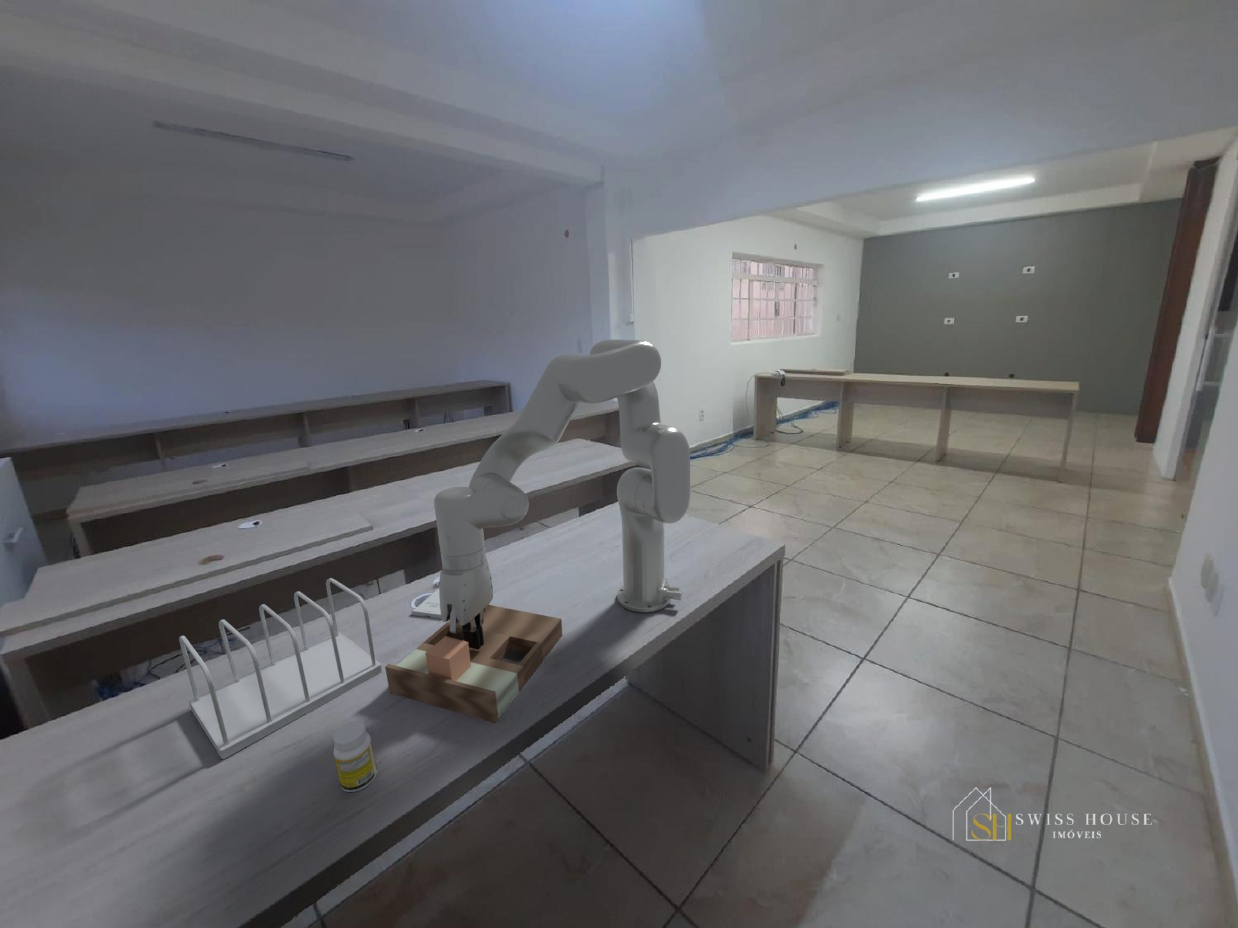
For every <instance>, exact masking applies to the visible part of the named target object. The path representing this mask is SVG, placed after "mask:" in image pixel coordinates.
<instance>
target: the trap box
mask: <svg viewBox="0 0 1238 928" xmlns="http://www.w3.org/2000/svg"><path fill="white" fill-rule="evenodd" d="M562 623H563V622H562V618H559V617H554V616H549V615H545V614H538V613H535V612H533V613H532V612H527V611H523V610H518V609H512V608H507V607H503V606H496V605H492V604H489V605H488V606H487V608H486V609H485V612H484V623H483V625H481V626H482V628H483V637H484V645H483V646H481V648H480V649H473V648H469V653H470V661H471V667H470V668H469V669H468V670H467V671H466V672H465V673H464V674H463V675H462V676H461V677H460V678H459V679H458V680H457V681H453V680H449V679H445V678H442V677H438V676H434V675H430V674H429V673H428V667H427V660H426V652H427V651H428V650H430V649H431V648H432V647H433V646H434V645H436V644H437V643H438V642H439V641H440V640H442V639H443V638H444V637H445V636H446V637H450V638H454V639H458V640H462V641H464V635H463V630H462V631H461V632H459V633H457V634H455V633H451V632H450V620H449V621H447V622H445V624H443V625H442V626H440V628H439V629H437V630H436V632H434V633H433V634H432V635H431V636H429V637H428V638H427V639H425V641H423V642H422V643H421V644H420V645H418V646H417V648H414V650H413V651H411V652H410V653H409V654H408V655H406V657H405V658H404V659H402V660H401V661H400V662H399V663H397V664H396V665H394V664H391V663H388V664H386V665H385V666H384V668H385V669H384V670H385V673H386V674H385V675H386V679H387V680H386V681H387V685H388V690H389V693H390V694H392V695H396V696H400V697H403V698H406V699H409V700H410V699H411V700H413V701H418V702H420V703H424V704H427V705H431V706H434V707H439V708H440V709H446V710H449V711H452V712H456V713H459V714H463V715H467V716H470V717H474V718H477V719H480V720H484V721H487V722H488V721H489V722H491V723H495V724H497V722H498V721H499V719H500V718H501V717H502V715H503V714H504V713H505V712H506V710H507V708H509V706H510V705H511V704H512V702H513V701H514V699H515V698H516V697H517V696H518V694H519V693H520V692H521V690H522V689H523V688H524V686H525V685H526V684H527V682H528V681H529V680H530V678H531V677H532V676H533V675H534V674H535V672H536V671H537V670H538V668H539V667H540V665H542V663H543V662H544V661H545V659H546V658H547V657H548V655H549V654H550V653H551V651H552V650H553V648H554V647H555V646H556V644H557V643H558V642H559V641H560V640H561V638H562V637H563V625H562Z"/></svg>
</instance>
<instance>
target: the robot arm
mask: <svg viewBox="0 0 1238 928" xmlns="http://www.w3.org/2000/svg"><path fill="white" fill-rule="evenodd" d="M661 368H662V357H661V355H660V352H659V350H658V349H657V347H656V346H654V345H653V344H652V343H651V342H648V341H645V340H638V339H603V340H601V341H599V342H597V343H595V344H594V345H593V346H592V347H591V348H590V351H589V354H575V353H574V354H572V353H569V354H567V353H565V354H559V355H557V356H555V357H554V358H552V359H551V360H550V361H549V363H548V364H547V366H546V367H545V369H544V371H543V372H542V375H541V376H540V378H539V380H538V382H537V383H536V385H535V387H534V390H533V391H532V393H530V394H531V395H530V397H529V398H528V400H527V402H526V404H525V405H524V407H523V409H522V411H521V412H520V414H519V416H518V418H517V419H516V420H515V422H514V423H513V424H512V425H510V426H509V427H508V428H507V429H506V430H505V431H504V432H503V433H502V434H501V436H499V437H498V438H497V439H496V440H495V441H494V442H493V443H492V444H491V445H490V447H489V448H488V449H487V451H486V452H485V453H484V455H483V456H482V458H481V460H480V462H479V464H478V465H477V467H476V469H475V471H474V472H473V475H472V476H471V479H470V481H469V483H468V486H454V487H449V488H445V489H443V490H440V491H439V492H438V493H437V494H436V495H435V496H434V500H433V504H434V506H433V507H434V514H435V519H436V528H437V535H438V544H439V549H440V557H441V559H440V560H441V564H442V565H441V566H442V570H441V571H440V573H439V574H440V575H439V585H438V587H439V598H440V611H441V618H442V619H441V621H442V622H443V623H447V622H448V621H449V620H450V632H451V633H455V634H457V633H459V632H461V631H462V630H463V635H464V641H466V642H468V645H469V648H473V649H480V648H481V646H483V645H484V637H483V628H482V626H481V625H483V623H484V612H485V609H486V608H487V606H488V605H491V602H492V601H493V598H494V586H493V580H492V574H491V569H490V565H489V561H488V558H487V555H486V545H485V536H484V533H485V532H484V529H486V528H499V527H507V526H512V525H515V524H516V523H519V522H520V521H522V520H523V519H524V518H525V516H526V515H527V513H528V511H529V508H530V507H529V506H530V504H529V499H528V496H527V494H526V493H525V491H524V490H523V489H521V487H519V486H517V485H516V484H515V483H514V484H513V483H512V482H511V481H512V479H513V477H514V476H515V473H516V472H517V471H518V469H519V468H520V466H522V464H523V463H524V462H525V461H526V460H527V459H529V458H530V457H531V456H533V455H535V454H537V453H540V452H543V451H545V450H547V449H550V448H552V447H554V446H555V445H557V444H558V442H560V440H561V438H562V436H563V434H564V433H565V430H566V428H567V427H568V425H569V424H570V421H571V420H572V417H573V416H574V414H575V412H576V410H577V408H578V406H579V404H585V405H595V404H597V405H598V404H602V403H604V402H608V401H610V400H613V399H617V404H618V412H619V413H618V414H619V430H620V432H619V433H620V434H619V435H620V447H621V449H620V450H621V452H622V455H623V457H624V458H625V459H626V460H627V461H628V462H630V463H633V464H635V465H638V466H640V467H632V468H630V469H628V470H626V471H624V472H623V474H622V475H620V478H619V480H618V482H617V486H616V496H617V497H616V498H617V501H618V507H619V511H620V518H621V530H622V531H621V532H622V533H621V534H622V537H621V538H622V570H623V571H622V575H623V577H622V578H623V583H622V584H623V586H621V587H620V588H619V589H618V590H617V593H616V597H617V598H616V599H617V602H618V604H619V605H620V606H621V607H623V608H624V609H626V610H628V611H632V612H636V613H654V612H656V611H657V612H658V611H660V610H662V609H664V608H666V607H667V606H668V605H669V604H670V602H671V599H672V600H676V601H681V602H682V600H683V592H682V591H680V586H674V585H673V586H672V585H670V584H668V583H669V582H668V579H669V578H666V577H665V524H674V523H677V522H679V521H681V520H682V519H683V518H684V517H685V515H686V513H687V511H688V509H689V505H690V500H691V452H690V451H691V450H690V446H689V445H690V444H689V442H688V440H687V437H686V436H685V434H683V432H682V431H681V430H679V429H678V428H676V427H673V426H670V425H666V424H663V423H662V421H661V415H660V414H661V412H660V401H659V394H658V390H657V387H656V384H655V383H654V381H655V380H656V379H657V377H658V376H659V373H660V371H661Z"/></svg>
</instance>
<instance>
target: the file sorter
mask: <svg viewBox="0 0 1238 928" xmlns="http://www.w3.org/2000/svg"><path fill="white" fill-rule="evenodd" d="M331 583H332V584H333V585H335V586H336V587H338V588H339V589H341V590H342V591H344V592H345V593H347V594H348V595H350V596H351V597H353V598H355V599H357V600H358V602H359V603H360V606H361V607H362V610H363V616H364V622H365V629H366V635H367V641H368V642H367V643H368V648H369V653H367V652H366V650H364V649H363V648H362V647H360V646H359V645H357V644H356V643H355V642H353V641H352V640H351V639H350V638H349V637H347V636H346V635H344V633H342V632H340V631H339V629H338V623H337V619H336V612H335V608H334V607H335V606H334V603H333V596H332V591H331ZM325 585H326V592H327V599H328V605H329V608H330V615H329V613H328V612H327V611H326V609H324V608H323V607H321V606H320V605H319V604H317V603H316V602H315V601H313V600H312V599H310V598H309V597H307V595H305V594H304V593H303V592H301V591H300V590H299V591H295V592H294V594H293V600H294V605H295V610H296V615H297V620H298V624H299V629H300V634H301V639H302V644H303V647H304V648H301V649H300V647H299V643H298V639H297V635H296V633H295V631H294V630H293V628H292V626H291V625H290V623H288V622H287V621H285V620H284V618H282V617H281V616H280V615H278V614H277V613H276V612H275V611H274V610H273V609H271V608H270V607H269V606H267V605H266V604H265V603H264V604H260V606H259V609H258V610H259V611H258V612H259V617H260V620H261V625H262V629H263V634H264V638H265V642H266V647H267V652H268V655H269V659H270V663H269V664H266V665H264V666H261V667H260V662H259V659H258V657H257V653H256V651H255V648H254V646H253V645H252V644H251V642H250V641H249V640H248V639H247V638H246V636H245V637H244V635H243V634H241V633H240V632H239V631H238V630H237V629H236V628H234V626H232V625H231V624H230V623H229V622H228V621H227V620H226V619H221V620H219V622H218V628H219V632H220V636H221V639H222V643H223V645H224V649H225V652H226V656H227V659H228V663H229V666H230V669H231V673H232V676H233V679H234V680H231V681H229V682H227V683H225V684H222V685H220V686H217V688H215V685H214V681H213V679H212V675H211V673H210V671H209V669H208V666H207V665H206V663H205V662H204V660H203V658H201V656H200V654H198V652H197V650H195V648H194V647H193V645H192V644H191V643H190V641H189V640H188V638H187V637H186V636H185V635H181V636H179V638H178V639H179V640H178V641H179V645H180V650H181V653H182V657H183V661H184V664H185V667H186V672H187V676H188V678H189V683H190V685H191V690H192V693H193V696H194V697H193V698H192V699H190V700H189V701H188V703H189V707H190V710H191V712H192V713H193V715H194V717H195V719H196V720H197V721H198V723H199V724H200V726H201V728H202V729H203V731H204V733H205V735H206V736H207V737H208V739H209V741H210V742H211V744H212V745H213V748H214V749H215V751H216V752H217V754H218V756H219V757H220V759H222V760H225V759H227V758H229V757H230V756H232V755H234V754H236V753H237V752H240V751H242V750H243V749H245V748H247V747H249V746H250V745H252V744H254V743H256V742H257V741H259V740H262V739H263V738H265V737H266V736H268V735H270V734H272V733H274V732H276V731H277V730H279V729H281V728H284V727H285V726H287V725H288V724H290V723H292V722H294V721H296V720H297V719H300V718H301V717H303V716H305V715H306V714H309V713H310V712H312V711H314V710H316V709H317V708H320V707H321V706H323V705H325V704H326V703H329V702H331V700H333V699H335V698H338V697H339V696H341V695H343V694H344V693H346V692H348V691H350V690H352V689H354V688H355V687H357V686H359V685H360V684H363V683H364V682H367V680H370V679H372V678H373V677H375V676H377V675H379V674H380V673H382V672H383V666H382V663H381V662H379V661H378V660H377V659H376V655H375V650H374V649H375V648H374V642H373V638H372V635H373V634H372V631H371V624H370V617H369V610H368V607H367V605H366V602H365V600H364V599H363V597H362V596H360V595H359V594H358V593H356V592H355V591H353V590H352V589H351V588H348V587H347V586H346V585H344V584H343V583H340V581H338V580H336V579H334V578H332V577H330V578H328V579H326V581H325ZM299 597H300V598H301V599H302V600H303V601H305V602H307V604H309V605H310V606H312V607H313V608H314V609H315V610H317V611H318V612H319V613H321V614H322V615H323V617H324V618H325V620H326V622H327V624H328V628H329V633H330V636H327V637H325V638H323V639H321V640H318V641H317V642H315V643H313V644H310V645H309V644H308V640H307V636H306V632H305V627H304V622H303V617H302V612H301V607H300V604H299V603H300V602H299ZM265 611H266V613H268V614H269V615H270V616H271V617H272V618H273V619H275V620H276V621H277V622H278V623H279V624H281V625H282V626H283V627H284V628H285V629H286V630H287V631H288V633H289V635H290V637H291V640H292V641H291V642H292V645H293V649H294V652H292V653H289V654H288V655H286V656H283V657H281V658H279V659H277V660H275V656H274V653H273V648H272V643H271V638H270V634H269V629H268V625H267V621H266V617H265ZM330 616H331V617H330ZM225 628H226V629H227V630H228V631H229V632H230V633H232V634H233V636H235V637H236V638H237V639H238V640H240V641H239V642H242V643H243V645H245V646H246V648H247V650H248V652H249V654H250V656H251V659H252V662H253V667H254V670H253V671H251V672H248V673H247V674H244V675H242V676H240V677H239V676H238V671H237V668H236V665H235V661H234V657H233V654H232V652H231V647H230V644H229V640H228V636H227V634H226V629H225ZM187 650H188V651H187ZM188 652H190V654H191V656H192V657H193V658H194V659H195V661H196V663H197V664H198V665H199V667H200V668H201V670H202V672H203V674H204V677H205V679H206V683H207V686H208V690H209V691H208V692H205V693H203V694H201V695H199V692H198V687H197V683H196V680H195V677H194V673H193V669H192V666H191V662H190V659H189V658H190V657H189V655H188Z"/></svg>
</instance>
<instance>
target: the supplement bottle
mask: <svg viewBox="0 0 1238 928" xmlns="http://www.w3.org/2000/svg"><path fill="white" fill-rule="evenodd" d="M332 739H333V746H334V748H333V758H334V761H335V762H334V763H335V765H336V766H335V767H336V772H337V774H338V778H339V779H338V780H339V782H340V787H341V789H342V790H343V791H344V792H347V793H348V792H349V793H354V792H355V793H356V792H359V791H361V790H364V789H366V787H368V786H369V785H370V784H372V782H373V781H374V780H375V778H376V776H377V774H378V767H377V762H376V758H375V757H376V756H375V753H374V749H373V743H372V737H371V735H370V734H369V732H367V729H366V724H365V723H364V722H363V721H361V720H360V721H359V720H354V721H349V722H346V723H345V724H343V725H341V726H340V727H338V728H337V729H336V730H335V732H334V733H333V738H332Z"/></svg>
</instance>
